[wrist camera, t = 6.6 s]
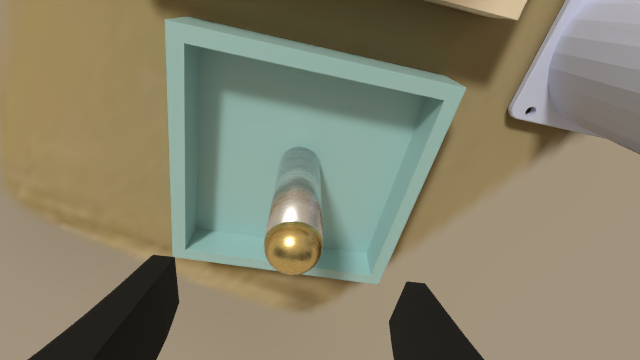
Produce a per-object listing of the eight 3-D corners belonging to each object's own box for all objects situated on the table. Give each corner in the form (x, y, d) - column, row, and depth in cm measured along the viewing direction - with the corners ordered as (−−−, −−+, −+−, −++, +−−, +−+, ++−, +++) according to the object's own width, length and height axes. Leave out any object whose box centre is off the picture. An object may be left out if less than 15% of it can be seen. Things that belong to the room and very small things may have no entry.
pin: (322, 149, 17) (328, 245, 10) (316, 184, 18) (319, 290, 11) (281, 144, 16) (261, 239, 10) (278, 179, 17) (258, 286, 11)
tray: (444, 75, 15) (466, 87, 13) (371, 256, 21) (378, 284, 19) (187, 16, 14) (164, 19, 12) (187, 228, 20) (172, 256, 18)
